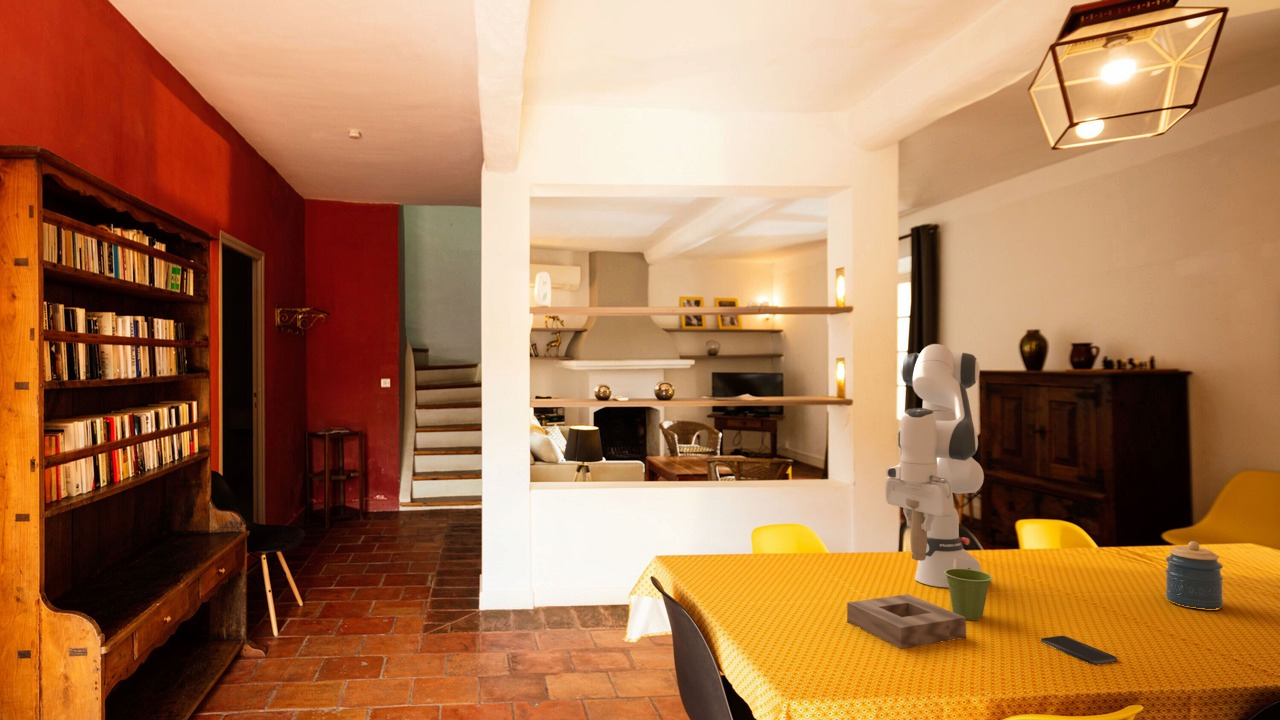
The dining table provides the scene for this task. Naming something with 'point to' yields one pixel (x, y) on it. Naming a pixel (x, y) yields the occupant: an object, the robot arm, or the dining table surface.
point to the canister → (1194, 577)
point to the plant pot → (968, 591)
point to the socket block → (906, 620)
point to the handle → (917, 532)
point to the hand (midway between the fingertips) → (918, 528)
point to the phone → (1079, 650)
